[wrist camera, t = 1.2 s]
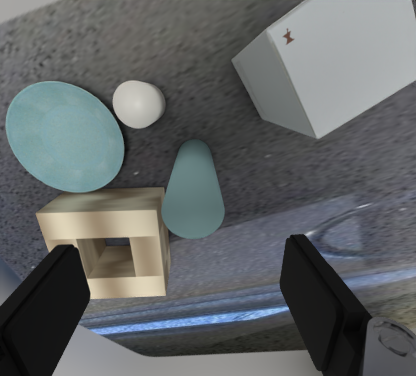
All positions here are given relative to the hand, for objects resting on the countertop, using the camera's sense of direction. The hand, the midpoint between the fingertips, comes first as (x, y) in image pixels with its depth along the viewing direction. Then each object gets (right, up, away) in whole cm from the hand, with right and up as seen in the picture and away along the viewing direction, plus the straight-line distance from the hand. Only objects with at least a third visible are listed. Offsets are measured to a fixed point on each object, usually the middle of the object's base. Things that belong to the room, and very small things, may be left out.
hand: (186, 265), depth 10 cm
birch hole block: (-10, -2, +20) cm, 23 cm away
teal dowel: (-1, +7, +17) cm, 18 cm away
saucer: (-14, +9, +16) cm, 23 cm away
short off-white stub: (-6, +13, +14) cm, 20 cm away
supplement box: (+8, +16, +14) cm, 23 cm away
